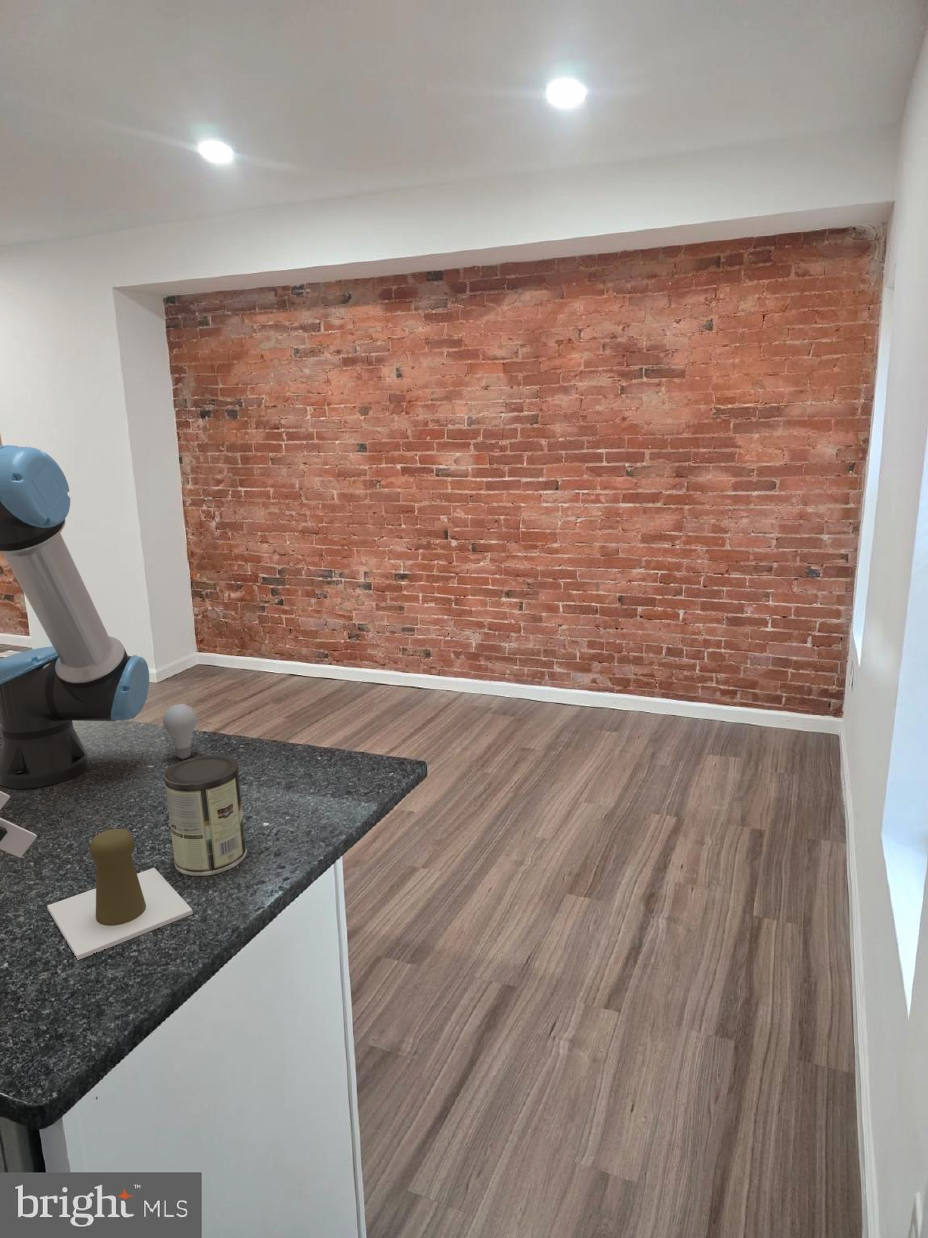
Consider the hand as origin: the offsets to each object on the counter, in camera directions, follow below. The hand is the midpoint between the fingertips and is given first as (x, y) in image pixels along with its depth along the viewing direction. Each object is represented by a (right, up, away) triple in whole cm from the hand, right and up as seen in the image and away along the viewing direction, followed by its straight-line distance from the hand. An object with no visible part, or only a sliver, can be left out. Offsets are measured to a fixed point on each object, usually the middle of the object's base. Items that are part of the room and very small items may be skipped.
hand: (14, 824), depth 94 cm
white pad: (+8, -14, +10) cm, 19 cm away
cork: (+9, -14, +9) cm, 19 cm away
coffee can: (+16, -11, +23) cm, 30 cm away
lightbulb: (-1, -3, +60) cm, 60 cm away
